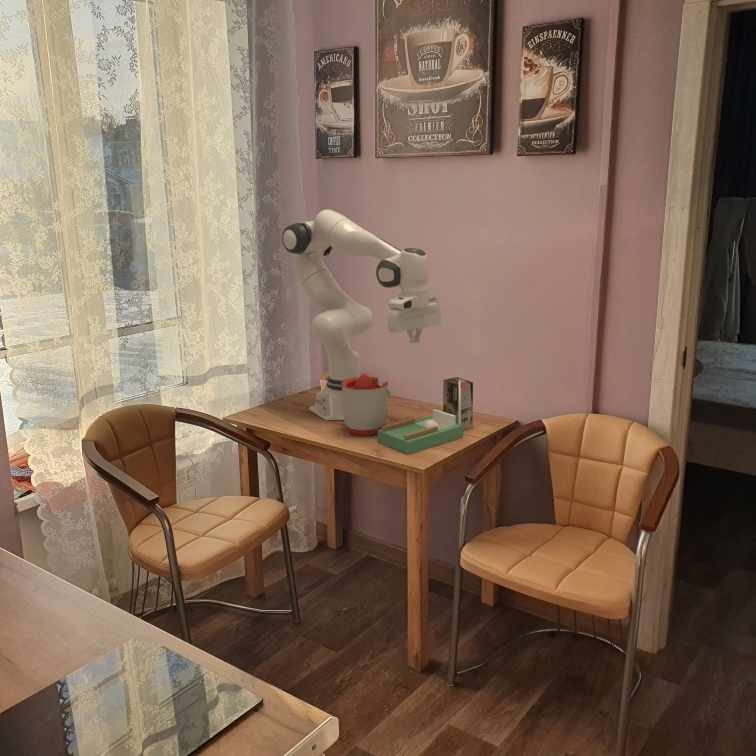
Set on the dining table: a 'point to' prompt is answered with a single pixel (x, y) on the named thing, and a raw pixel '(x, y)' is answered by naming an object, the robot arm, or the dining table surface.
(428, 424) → the ball
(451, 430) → the mini golf course
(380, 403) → the citrus juicer
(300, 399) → the dining table surface
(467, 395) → the coffee box
